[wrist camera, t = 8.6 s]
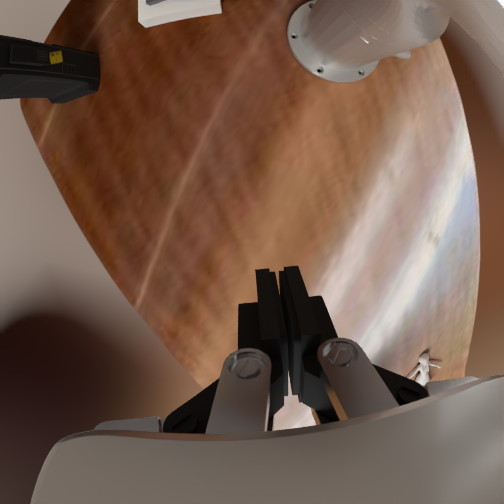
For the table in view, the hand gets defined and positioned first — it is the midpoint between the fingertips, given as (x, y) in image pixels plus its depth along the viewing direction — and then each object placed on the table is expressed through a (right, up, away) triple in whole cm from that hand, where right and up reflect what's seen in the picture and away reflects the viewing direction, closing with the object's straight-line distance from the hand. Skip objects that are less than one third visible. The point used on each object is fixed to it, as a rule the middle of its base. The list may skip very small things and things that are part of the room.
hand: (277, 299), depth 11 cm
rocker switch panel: (-9, +39, +11) cm, 42 cm away
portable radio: (-24, +26, +17) cm, 39 cm away
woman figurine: (+41, -28, +46) cm, 67 cm away
